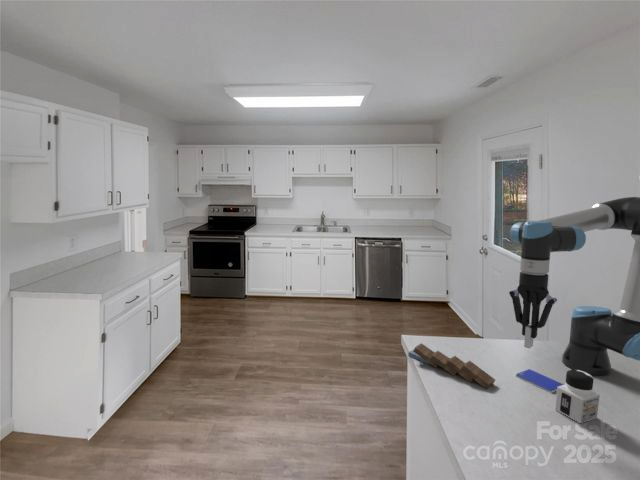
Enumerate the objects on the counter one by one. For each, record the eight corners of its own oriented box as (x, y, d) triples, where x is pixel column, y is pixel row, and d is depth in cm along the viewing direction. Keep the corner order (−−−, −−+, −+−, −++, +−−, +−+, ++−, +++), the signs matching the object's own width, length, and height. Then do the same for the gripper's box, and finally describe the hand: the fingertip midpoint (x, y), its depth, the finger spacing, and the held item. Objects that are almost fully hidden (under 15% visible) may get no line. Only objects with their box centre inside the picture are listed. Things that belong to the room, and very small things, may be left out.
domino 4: (495, 379, 126) (469, 360, 133) (489, 384, 123) (462, 364, 129) (493, 384, 127) (467, 364, 133) (486, 389, 124) (460, 369, 130)
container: (580, 424, 105) (585, 382, 103) (554, 410, 112) (558, 369, 110) (597, 418, 108) (602, 376, 106) (570, 404, 115) (575, 365, 113)
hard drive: (516, 373, 132) (551, 390, 121) (529, 368, 136) (565, 384, 125) (515, 377, 133) (550, 394, 122) (529, 372, 136) (564, 388, 126)
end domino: (429, 366, 141) (408, 356, 148) (437, 362, 144) (416, 353, 151) (429, 361, 140) (408, 351, 148) (437, 357, 143) (416, 348, 151)
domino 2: (461, 366, 135) (437, 350, 141) (456, 371, 131) (431, 354, 137) (459, 370, 136) (435, 354, 142) (454, 376, 132) (430, 359, 138)
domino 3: (479, 373, 130) (454, 355, 137) (472, 378, 127) (448, 359, 133) (477, 377, 131) (452, 359, 138) (470, 382, 128) (446, 363, 134)
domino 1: (443, 358, 140) (421, 343, 146) (437, 363, 137) (414, 347, 143) (441, 362, 141) (419, 347, 147) (435, 367, 138) (413, 351, 144)
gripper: (506, 270, 114) (501, 343, 117) (553, 278, 104) (547, 357, 107) (516, 267, 119) (512, 337, 122) (563, 274, 109) (556, 350, 112)
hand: (528, 346), depth 115 cm, fingers closed
